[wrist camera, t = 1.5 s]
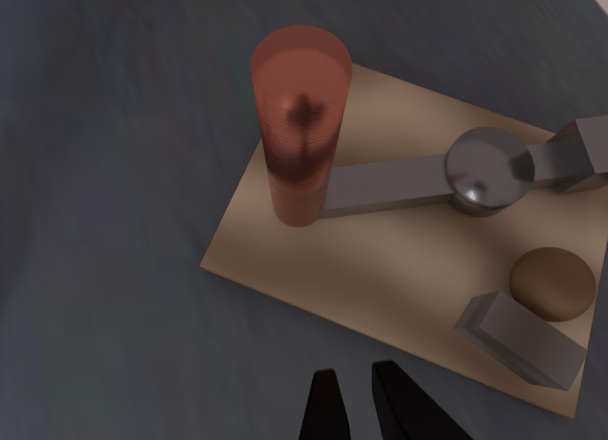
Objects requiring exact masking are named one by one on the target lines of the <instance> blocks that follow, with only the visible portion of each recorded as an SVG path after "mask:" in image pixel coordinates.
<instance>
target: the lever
mask: <svg viewBox="0 0 608 440" xmlns="http://www.w3.org/2000/svg"><path fill="white" fill-rule="evenodd" d="M251 76H252V82H253V88H254V94H255V100H256V107H257V113H258V119H259V125H260V131H261V137H262V143H263V149H264V155H265V162H266V168H267V174H268V180H269V186H270V192H271V198H272V204H273V209H274V212H275V214H276V216H277V217H278V218H279V220H280V221H282V222H283V223H285V224H286V225H288V226H292V227H305V226H308V225H310V224H312V223H314V222H315V221H316V220H319V219H326V218H334V217H341V216H349V215H356V214H364V213H372V212H379V211H387V210H394V209H402V208H409V207H417V206H425V205H432V204H440V203H448V204H449V205H450V206H451V207H453V208H454V209H455V210H457V211H459V212H461V213H463V214H465V215H468V216H473V217H488V216H492V215H495V214H497V213H499V212H501V211H503V210H504V209H506V208H507V207H509V206H510V205H512V204H514V203H515V202H517V201H518V200H520V199H521V198H523V197H524V196H525V195H526V194H527V193H528V192H529V190H533V189H540V188H548V187H555V190H556V193H557V195H561V194H568V193H576V192H583V191H591V190H598V189H600V188H602V187H604V186H606V185H608V115H605V116H597V117H589V118H580V119H575V120H573V121H572V122H571V123H570V124H568V125H567V126H566V127H564V128H563V129H562V130H561V131H559V132H558V133H557V134H556V135H554V136H553V137H552V138H551V139H549V140H548V141H547V142H546V143H542V144H534V145H524V144H523V142H522V141H521V140H519V139H518V138H517V137H516V136H514V135H513V134H511V133H509V132H508V131H505V130H503V129H499V128H495V127H477V128H473V129H470V130H468V131H466V132H465V133H463V134H462V135H461V136H459V137H458V138H457V140H456V141H455V142H454V143H453V145H452V146H451V147H450V148H449V150H448V151H447V152H446V153H445V154H439V155H431V156H423V157H415V158H407V159H399V160H391V161H383V162H375V163H367V164H359V165H351V166H343V167H335V168H332V166H333V161H334V157H335V152H336V147H337V143H338V138H339V133H340V129H341V124H342V120H343V115H344V110H345V106H346V101H347V96H348V92H349V87H350V82H351V78H352V60H351V57H350V54H349V52H348V50H347V49H346V47H345V45H344V44H343V43H342V42H341V41H340V40H339V39H338V38H337V37H336V36H334V35H333V34H331V33H330V32H328V31H326V30H323V29H321V28H318V27H314V26H309V25H293V26H288V27H284V28H281V29H278V30H276V31H274V32H272V33H271V34H269V35H268V36H266V37H265V38H264V39H263V40H262V41H261V42H260V43H259V45H258V46H257V48H256V49H255V51H254V54H253V56H252V60H251Z"/></svg>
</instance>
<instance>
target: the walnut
mask: <svg viewBox="0 0 608 440" xmlns="http://www.w3.org/2000/svg"><path fill="white" fill-rule="evenodd" d="M509 287H510V292H511V294H512V297H513V299H514V300H515V301H517V302H518V303H520V304H521V305H523V306H524V307H526V308H527V309H528V310H530V311H531V312H533V313H534V314H536V315H537V316H539V317H540V318H541V319H543V320H544V321H547V322H565V321H569V320H572V319H575V318H577V317H579V316H580V315H582V314H583V313H584V312H586V311H587V310H588V308H589V307H590V306H591V304H592V303H593V300H594V298H595V294H596V281H595V277H594V275H593V272H592V270H591V269H590V267H589V266H588V265H587V263H586V262H585V261H584V260H582V259H581V258H580V257H579V256H577V255H576V254H574V253H572V252H570V251H568V250H565V249H562V248H556V247H542V248H537V249H534V250H531V251H529V252H527V253H525V254H524V255H522V256H521V257H520V258H519V259H518V260H517V261H516V262H515V264H514V265H513V267H512V269H511V272H510V276H509Z"/></svg>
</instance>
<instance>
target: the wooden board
mask: <svg viewBox="0 0 608 440" xmlns="http://www.w3.org/2000/svg"><path fill="white" fill-rule="evenodd" d="M477 127H495V128H499V129H503V130H505V131H508V132H509V133H511V134H513V135H514V136H516V137H517V138H518V139H519V140H521V141H522V142H523V144H524V145H534V144H542V143H546V142H547V141H548V140H549V139H551V138H552V137H553V136H554V135H556V134H554V133H551V132H549V131H546V130H543V129H540V128H537V127H534V126H531V125H529V124H526V123H523V122H520V121H517V120H514V119H511V118H508V117H506V116H503V115H500V114H497V113H494V112H491V111H488V110H486V109H483V108H480V107H477V106H474V105H471V104H468V103H466V102H463V101H460V100H457V99H454V98H451V97H448V96H445V95H443V94H440V93H437V92H434V91H431V90H428V89H425V88H423V87H420V86H417V85H414V84H411V83H408V82H405V81H403V80H400V79H397V78H394V77H391V76H388V75H385V74H383V73H380V72H377V71H374V70H371V69H368V68H365V67H362V66H360V65H357V64H354V63H352V78H351V82H350V87H349V92H348V96H347V101H346V106H345V110H344V115H343V120H342V124H341V129H340V133H339V138H338V143H337V147H336V152H335V157H334V161H333V166H332V168H335V167H343V166H351V165H359V164H367V163H375V162H383V161H391V160H399V159H407V158H415V157H423V156H431V155H439V154H445V153H446V152H447V151H448V150H449V148H450V147H451V146H452V145H453V143H454V142H455V141H456V140H457V138H458V137H459V136H461V135H462V134H463V133H465V132H466V131H468V130H470V129H473V128H477ZM607 239H608V185H606V186H604V187H602V188H600V189H598V190H591V191H583V192H576V193H568V194H561V195H557V193H556V190H555V187H548V188H540V189H533V190H529V192H528V193H527V194H526V195H525V196H524V197H523V198H521V199H520V200H518V201H517V202H515V203H514V204H512V205H510V206H509V207H507V208H506V209H504V210H503V211H501V212H499V213H497V214H495V215H492V216H488V217H473V216H468V215H465V214H463V213H461V212H459V211H457V210H455V209H454V208H453V207H451V206H450V205H449V204H448V203H440V204H432V205H425V206H417V207H409V208H402V209H394V210H387V211H379V212H372V213H364V214H356V215H349V216H341V217H334V218H326V219H319V220H316V221H315V222H314V223H312V224H310V225H308V226H305V227H292V226H288V225H286V224H285V223H283V222H282V221H280V220H279V218H278V217H277V216H276V214H275V212H274V209H273V204H272V198H271V192H270V186H269V180H268V174H267V168H266V162H265V155H264V149H263V143H262V137H261V139H260V141H259V143H258V146H257V148H256V150H255V152H254V154H253V156H252V158H251V160H250V162H249V164H248V166H247V168H246V171H245V173H244V175H243V177H242V179H241V181H240V183H239V185H238V187H237V189H236V191H235V193H234V195H233V198H232V200H231V202H230V204H229V206H228V208H227V210H226V212H225V214H224V216H223V218H222V220H221V222H220V225H219V227H218V229H217V231H216V233H215V235H214V237H213V239H212V241H211V243H210V245H209V247H208V249H207V252H206V254H205V256H204V258H203V260H202V262H201V264H200V266H201V267H202V268H203V269H204V270H207V271H209V272H211V273H214V274H216V275H219V276H221V277H224V278H226V279H229V280H231V281H233V282H236V283H238V284H241V285H243V286H246V287H248V288H250V289H253V290H255V291H258V292H260V293H263V294H265V295H268V296H270V297H272V298H275V299H277V300H280V301H282V302H285V303H287V304H289V305H292V306H294V307H297V308H299V309H302V310H304V311H306V312H309V313H311V314H314V315H316V316H319V317H321V318H324V319H326V320H328V321H331V322H333V323H336V324H338V325H341V326H343V327H345V328H348V329H350V330H353V331H355V332H358V333H360V334H363V335H365V336H367V337H370V338H372V339H375V340H377V341H380V342H382V343H384V344H387V345H389V346H392V347H394V348H397V349H399V350H401V351H404V352H406V353H409V354H411V355H414V356H416V357H419V358H421V359H423V360H426V361H428V362H431V363H433V364H436V365H438V366H440V367H443V368H445V369H448V370H450V371H453V372H455V373H457V374H460V375H462V376H465V377H467V378H470V379H472V380H475V381H477V382H479V383H482V384H484V385H487V386H489V387H492V388H494V389H496V390H499V391H501V392H504V393H506V394H509V395H511V396H514V397H516V398H518V399H521V400H523V401H526V402H528V403H531V404H533V405H535V406H538V407H540V408H543V409H545V410H548V411H550V412H552V413H555V414H557V415H560V416H564V417H567V418H571V419H574V417H575V412H576V406H577V401H578V396H579V390H580V385H581V379H582V374H583V369H584V363H585V358H586V356H587V354H588V352H589V351H588V350H587V347H588V342H589V336H590V331H591V325H592V320H593V315H594V309H595V304H596V298H597V293H598V288H599V282H600V277H601V271H602V266H603V261H604V255H605V250H606V244H607ZM542 247H556V248H562V249H565V250H568V251H570V252H572V253H574V254H576V255H577V256H579V257H580V258H581V259H582V260H584V261H585V262H586V263H587V265H588V266H589V267H590V269H591V270H592V272H593V275H594V277H595V281H596V294H595V298H594V300H593V303H592V304H591V306H590V307H589V308H588V310H587V311H586V312H584V313H583V314H582V315H580V316H579V317H577V318H575V319H572V320H569V321H565V322H547V321H544V320H543V319H541V318H540V317H539V316H537V315H536V314H534V313H533V312H531V311H530V310H528V309H527V308H526V307H524V306H523V305H521V304H520V303H518V302H517V301H515V300H514V299H513V297H512V294H511V292H510V287H509V276H510V272H511V269H512V267H513V265H514V264H515V262H516V261H517V260H518V259H519V258H520V257H521V256H522V255H524V254H525V253H527V252H529V251H531V250H534V249H537V248H542Z"/></svg>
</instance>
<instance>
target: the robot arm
mask: <svg viewBox="0 0 608 440" xmlns="http://www.w3.org/2000/svg"><path fill="white" fill-rule="evenodd" d="M372 394H373V400H374V404H375V408H376V412H377V416H378V420H379V424H380V428H381V432H382V436H383V440H473V439H472V438H471V437H470V436H469V435H468V434H467V433H466V432H465V431H464V430H463V429H462V428H461V427H460V426H459V425H458V424H457V423H456V422H455V421H454V420H453V419H452V418H451V417H450V416H449V415H448V414H447V413H446V412H445V411H444V410H443V409H442V408H441V407H440V406H439V405H438V404H437V403H436V402H435V401H434V400H433V399H432V398H431V397H430V396H429V395H428V394H427V393H426V392H425V391H424V390H423V389H422V388H421V387H420V386H419V385H418V384H417V383H416V382H415V381H414V380H413V379H412V378H411V377H410V376H409V375H408V374H407V373H405V372H404V371H403V370H402V369H401V368H400V367H399V366H398V365H397V364H396V363H395V362H394V361H393V360H391V359H387V360H380V361H375V362H373V364H372ZM298 440H351V437H350V429H349V423H348V418H347V414H346V410H345V406H344V403H343V399H342V395H341V391H340V387H339V384H338V380H337V376H336V372H335V370H334V369H332V368H329V369H323V370H317V371H316V372H315V373H314V376H313V380H312V384H311V388H310V393H309V397H308V401H307V405H306V410H305V414H304V418H303V422H302V427H301V431H300V435H299V439H298Z"/></svg>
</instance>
